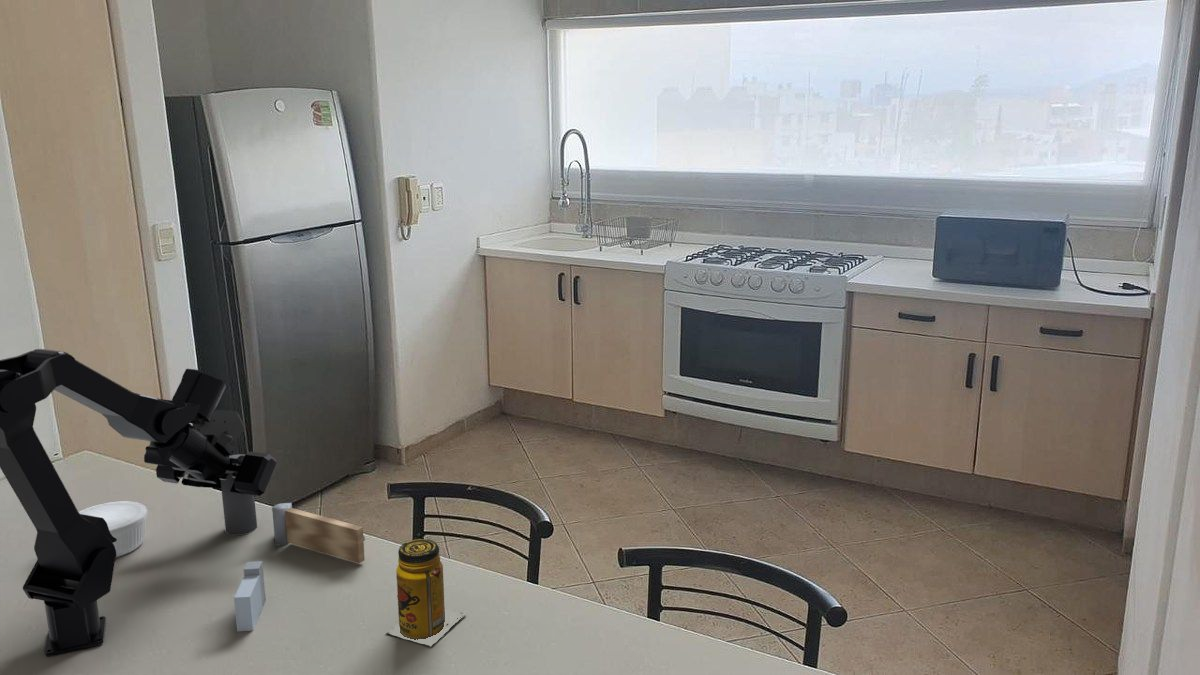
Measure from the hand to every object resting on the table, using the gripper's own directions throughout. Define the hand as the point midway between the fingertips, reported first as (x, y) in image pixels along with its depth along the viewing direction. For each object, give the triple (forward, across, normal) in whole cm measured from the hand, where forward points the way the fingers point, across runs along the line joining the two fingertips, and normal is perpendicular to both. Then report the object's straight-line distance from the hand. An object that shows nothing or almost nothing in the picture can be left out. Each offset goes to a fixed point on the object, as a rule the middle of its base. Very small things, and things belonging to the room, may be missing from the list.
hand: (243, 487), depth 145 cm
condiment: (-8, -42, +17) cm, 46 cm away
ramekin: (-4, +16, +14) cm, 21 cm away
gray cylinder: (+4, 0, +6) cm, 7 cm away
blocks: (-5, -14, +14) cm, 20 cm away
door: (+1, -18, +7) cm, 19 cm away
